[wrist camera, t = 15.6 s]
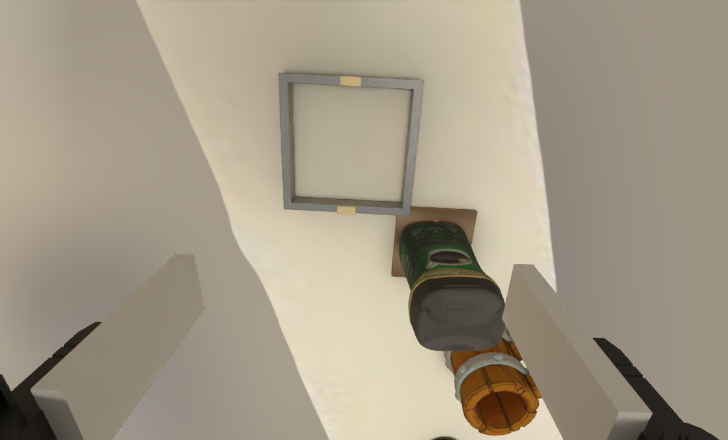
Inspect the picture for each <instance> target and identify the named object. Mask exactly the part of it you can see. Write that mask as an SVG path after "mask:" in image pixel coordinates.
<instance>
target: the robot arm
mask: <svg viewBox="0 0 728 440" xmlns="http://www.w3.org/2000/svg"><path fill="white" fill-rule="evenodd" d="M204 309H205V307H204V302H203V297H202V292H201V287H200V282H199V277H198V272H197V267H196V262H195V257H194V254H175V255H174V256H173V257H172V258H171V259H170V260H168V261H167V262H166V263H165V264H164V265H163V266H162V267H161V268H160V269H159V270H158V271H157V272H155V274H153V275H152V276H151V277H150V278H149V279H148V280H147V281H146V282H145V283H144V284H143V285H142V286H140V287H139V288H138V289H137V290H136V291H135V292H134V293H133V294H132V295H131V296H130V297H129V298H128V299H127V300H126V301H124V302H123V303H122V304H121V305H120V306H119V307H118V308H117V309H116V310H115V311H114V312H113V313H112V314H111V315H109V316H108V318H106V319H105V320H104V321H103V322H95V323H93V324H91V325H90V326H88V327H86V328H84V329H83V330H81V331H79V332H78V333H77V334H75V335H74V337H72V338H71V339H70V340H69V341H68V342H66V343H65V344H64V347H61V348H60V349H59V350H57V351H56V352H55V353H54V354H53V355H52V358H49V359H48V360H46V361H45V362H44V363H43V364H42V365H41V366H39V367H38V368H37V369H36V370H35V371H34V372H33V373H32V374H31V375H29V376H28V377H27V378H26V379H25V380H24V381H23V382H22V383H20V384H19V385H18V386H17V387H16V388H15V389H14V390H13V391H10V388H9V386H8V385H7V383H6V381H5V379H4V377H3V375H1V374H0V440H112V439H113V438H114V437H115V435H116V434H117V433H118V431H119V430H120V428H121V427H122V425H123V424H124V423H125V421H126V420H127V418H128V417H129V416H130V414H131V413H132V411H133V410H134V408H135V407H136V406H137V404H138V403H139V401H140V400H141V398H142V397H143V396H144V394H145V393H146V391H147V390H148V389H149V387H150V386H151V384H152V383H153V381H154V380H155V378H156V377H157V376H158V374H159V373H160V371H161V370H162V369H163V367H164V366H165V365H166V363H167V361H168V360H169V359H170V357H171V356H172V355H173V353H174V352H175V350H176V349H177V348H178V346H179V345H180V343H181V342H182V340H183V339H184V338H185V336H186V335H187V333H188V332H189V330H190V329H191V328H192V326H193V325H194V323H195V322H196V321H197V319H198V318H199V316H200V315H201V313H202V312H203V311H204ZM502 319H503V321H504V323H505V325H506V327H507V329H508V331H509V333H510V335H511V337H512V339H513V341H514V343H515V345H516V347H517V349H518V351H519V353H520V355H521V357H522V359H523V361H524V363H525V365H526V367H527V369H528V371H529V373H530V375H531V377H532V379H533V380H534V382H535V384H536V386H537V388H538V390H539V392H540V394H541V396H542V398H543V400H544V402H545V404H546V406H547V408H548V410H549V412H550V414H551V416H552V418H553V420H554V422H555V424H556V426H557V428H558V430H559V432H560V434H561V436H562V438H563V440H718V439H717V438H716V437H715V436H713V435H712V434H710V433H708V432H706V431H705V430H703V429H701V428H699V427H696V426H694V425H691V424H688V423H684V422H683V421H682V420H681V419H680V418H679V417H678V416H677V414H676V413H675V412H674V411H673V410H672V408H671V407H670V406H669V405H668V404H667V403H666V402H665V400H664V399H663V398H662V397H661V396H660V395H659V394H658V392H656V390H655V389H654V388H653V387H652V386H651V384H650V383H649V382H648V381H647V380H646V379H645V378H643V375H642V374H641V373H640V372H639V371H638V369H637V368H636V367H633V364H632V363H631V361H630V360H629V359H628V358H627V357H626V356H625V355H624V353H623V352H622V351H621V350H620V349H618V348H617V347H616V346H614V345H613V344H611V343H610V342H609V341H607V340H606V339H604V338H592V337H591V336H590V335H589V333H588V332H587V331H586V330H585V329H584V328H583V326H582V325H581V323H580V322H579V321H578V320H577V319H576V318H575V316H574V315H573V314H572V312H571V311H570V310H569V309H568V307H567V306H566V305H565V304H564V302H563V301H562V300H561V299H560V297H559V296H558V295H557V294H556V292H555V291H554V290H553V289H552V287H551V286H550V285H549V284H548V283H547V281H546V280H545V279H544V278H543V276H542V275H541V274H540V273H539V271H538V270H537V269H536V268H535V266H534V265H528V264H514V267H513V271H512V276H511V280H510V285H509V289H508V294H507V299H506V303H505V308H504V312H503V317H502Z"/></svg>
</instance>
